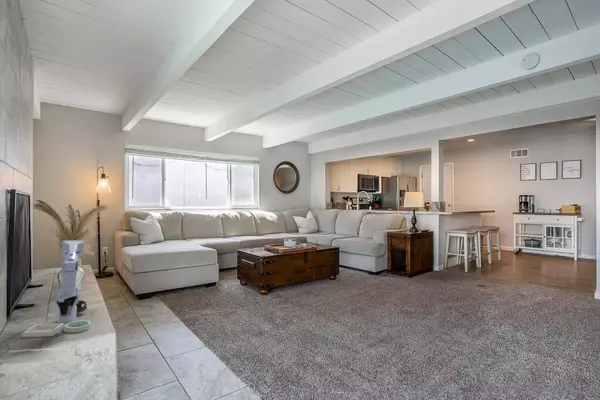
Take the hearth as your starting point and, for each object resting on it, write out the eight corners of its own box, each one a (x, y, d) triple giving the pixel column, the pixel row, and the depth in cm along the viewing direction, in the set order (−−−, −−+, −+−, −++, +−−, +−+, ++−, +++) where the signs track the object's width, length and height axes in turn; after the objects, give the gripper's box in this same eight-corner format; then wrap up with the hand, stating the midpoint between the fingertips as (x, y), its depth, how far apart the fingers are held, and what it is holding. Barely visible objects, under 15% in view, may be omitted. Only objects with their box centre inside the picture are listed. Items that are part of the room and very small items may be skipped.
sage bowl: (69, 326, 163) (69, 320, 163) (93, 325, 166) (94, 320, 166) (59, 334, 152) (60, 328, 152) (85, 333, 155) (86, 327, 155)
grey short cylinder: (62, 314, 158) (62, 305, 159) (72, 313, 160) (73, 304, 160) (57, 316, 154) (58, 307, 154) (68, 316, 155) (69, 307, 156)
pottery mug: (89, 311, 191) (91, 300, 188) (80, 322, 182) (81, 312, 179) (68, 305, 189) (69, 295, 186) (57, 317, 180) (59, 306, 177)
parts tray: (35, 329, 157) (36, 323, 157) (63, 328, 160) (64, 322, 160) (21, 338, 145) (22, 332, 145) (52, 337, 149) (53, 331, 149)
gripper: (65, 282, 164) (63, 309, 163) (51, 288, 150) (49, 318, 149) (81, 282, 166) (79, 308, 165) (69, 288, 152) (66, 317, 151)
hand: (66, 313), depth 157 cm, fingers closed on grey short cylinder, 5 cm apart
